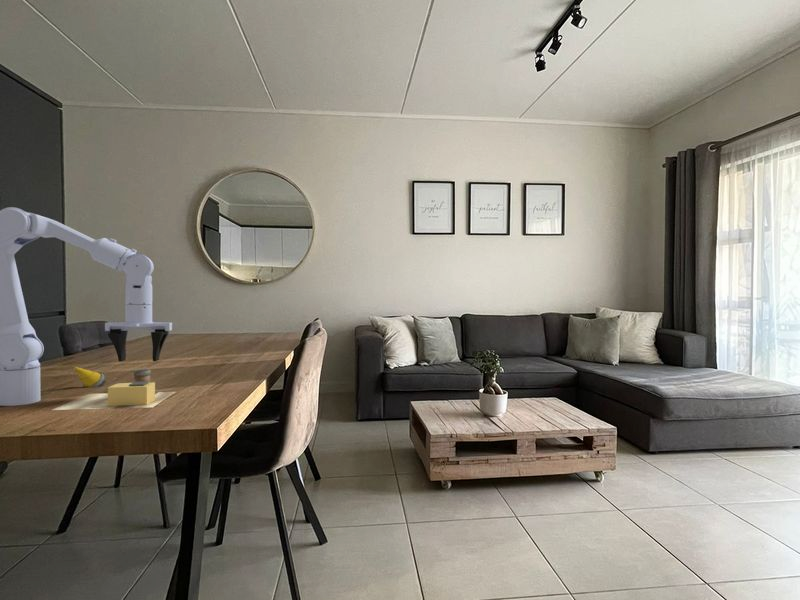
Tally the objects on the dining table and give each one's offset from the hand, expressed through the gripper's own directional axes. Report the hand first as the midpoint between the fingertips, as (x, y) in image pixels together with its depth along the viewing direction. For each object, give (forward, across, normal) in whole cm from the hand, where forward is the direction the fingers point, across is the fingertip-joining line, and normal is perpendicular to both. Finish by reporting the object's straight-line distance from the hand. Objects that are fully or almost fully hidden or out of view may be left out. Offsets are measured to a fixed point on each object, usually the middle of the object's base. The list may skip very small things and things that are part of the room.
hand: (139, 360), depth 116 cm
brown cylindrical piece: (+8, +1, -1) cm, 8 cm away
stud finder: (+8, +2, -9) cm, 12 cm away
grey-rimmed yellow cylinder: (+10, -16, +12) cm, 23 cm away
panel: (+9, -2, -6) cm, 11 cm away
